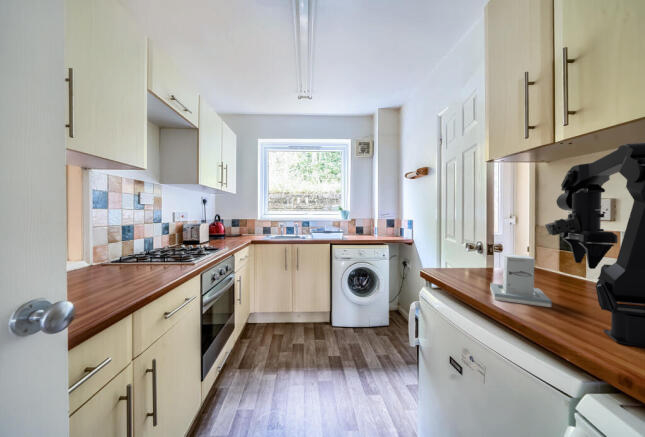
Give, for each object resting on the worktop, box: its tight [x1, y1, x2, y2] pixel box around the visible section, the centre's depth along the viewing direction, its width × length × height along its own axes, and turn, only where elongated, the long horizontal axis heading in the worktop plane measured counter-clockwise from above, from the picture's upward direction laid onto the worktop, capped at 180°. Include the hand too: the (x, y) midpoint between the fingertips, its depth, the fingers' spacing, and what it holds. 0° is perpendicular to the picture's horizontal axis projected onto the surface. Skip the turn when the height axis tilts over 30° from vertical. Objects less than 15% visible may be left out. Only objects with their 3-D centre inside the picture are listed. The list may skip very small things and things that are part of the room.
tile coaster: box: [489, 282, 552, 308], centre depth 86 cm, size 14×14×2 cm
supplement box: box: [502, 253, 536, 297], centre depth 86 cm, size 7×7×13 cm
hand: (584, 265), depth 73 cm, fingers open, 9 cm apart
